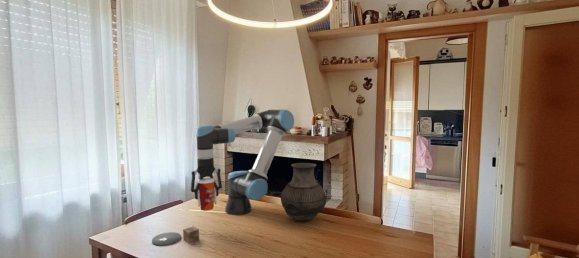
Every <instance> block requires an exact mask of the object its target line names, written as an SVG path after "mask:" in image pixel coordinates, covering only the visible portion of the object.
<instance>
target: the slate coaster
mask: <svg viewBox="0 0 579 258" xmlns="http://www.w3.org/2000/svg"><path fill="white" fill-rule="evenodd" d="M181 238H182V235H181V234H180V233H178V232H171V231H170V232H163V233H160V234H157V235H155V236H154V237H152V239H151V243H152V245H154V246H159V247H160V246H162V247H163V246H164V247H165V246H170V245H173V244H175V243H178V242H179V241H180V240H181Z"/></svg>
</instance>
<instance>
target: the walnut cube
mask: <svg viewBox="0 0 579 258" xmlns="http://www.w3.org/2000/svg"><path fill="white" fill-rule="evenodd" d="M182 231H183V233H182V235H183V237H182V240H183V241H184V242H186V243H187V244H191V243H194V242H195V243H196V242H197V241H200V229H199V228H197V227H195V226H189V227H186V228H183V230H182Z"/></svg>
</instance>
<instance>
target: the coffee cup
mask: <svg viewBox="0 0 579 258" xmlns="http://www.w3.org/2000/svg"><path fill="white" fill-rule="evenodd" d="M214 181H215V182H216V180H215V178H214V176H213V178H210V177H203V179H202V180H199V178H198V179H197V182H198V183H199V190H198V191H199V194H200V206H199V207H200V211H206V212H207V211H211V210H213V209H214V204H215V203H214V189H215V187H214Z"/></svg>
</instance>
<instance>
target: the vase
mask: <svg viewBox="0 0 579 258" xmlns="http://www.w3.org/2000/svg"><path fill="white" fill-rule="evenodd" d="M291 167H292V169H293V172H292V178H291V181H289V182H288V183H287V184H286V185H285V186H284V188H283V190H282V191H281V194H280V202H281V206H282V207H283V209H284V211H285V213H286V215H287V216H288V217H289V218H291V219H293V220H296V221H299V222H300V221H301V222H304V221H305V222H307V221H310V220H312V219H314V218H315V217H316V216H317V215H318V214H320V213H321V212H322V210H323V209H324V208H325V207H326V203H327V195H326V193H325V190H324V189H323V187H322V185H321V184H320V183H319V182H317V179H316V178H315V168H316V167H317V163H311V162H295V163H291Z"/></svg>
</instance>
